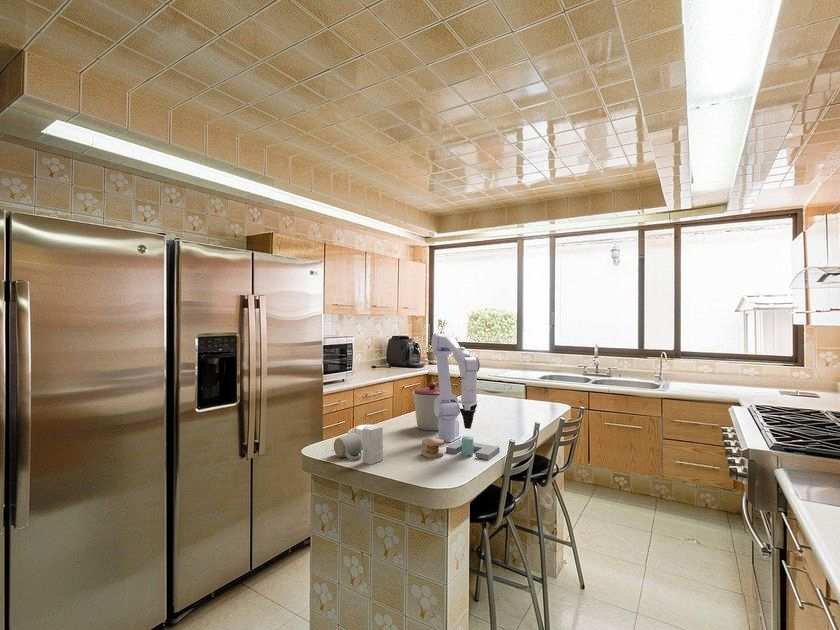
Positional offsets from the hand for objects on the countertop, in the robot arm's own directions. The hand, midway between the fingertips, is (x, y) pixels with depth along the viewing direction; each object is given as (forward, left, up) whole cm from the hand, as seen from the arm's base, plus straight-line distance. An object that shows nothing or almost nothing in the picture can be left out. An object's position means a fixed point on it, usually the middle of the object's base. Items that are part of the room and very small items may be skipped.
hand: (468, 425), depth 161 cm
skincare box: (+26, -25, -11) cm, 37 cm away
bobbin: (+8, -11, -10) cm, 17 cm away
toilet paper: (+12, -41, -11) cm, 44 cm away
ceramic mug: (+26, -35, -11) cm, 45 cm away
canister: (-25, -30, -11) cm, 40 cm away
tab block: (0, 0, -10) cm, 10 cm away
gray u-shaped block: (-2, +1, -10) cm, 11 cm away
